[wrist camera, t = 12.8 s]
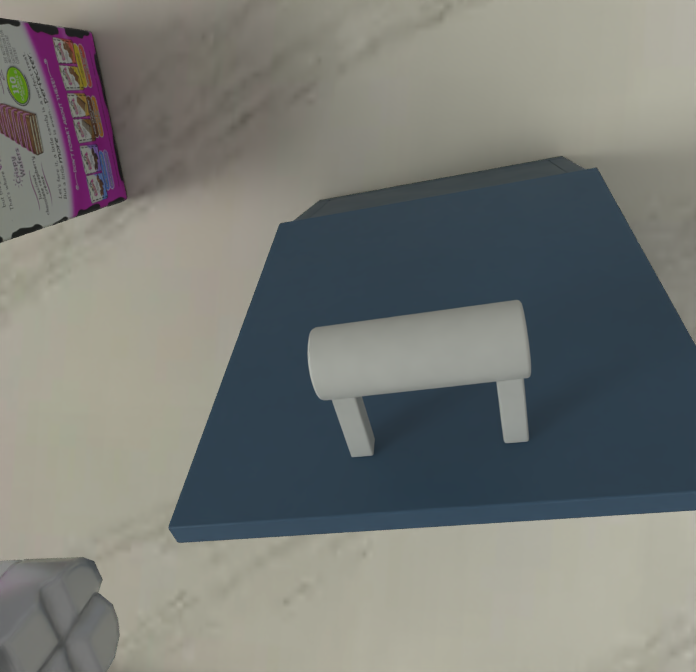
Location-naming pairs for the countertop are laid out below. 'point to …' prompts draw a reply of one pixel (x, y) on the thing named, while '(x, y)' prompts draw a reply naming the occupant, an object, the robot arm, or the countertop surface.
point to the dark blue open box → (442, 186)
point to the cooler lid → (450, 372)
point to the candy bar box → (52, 129)
